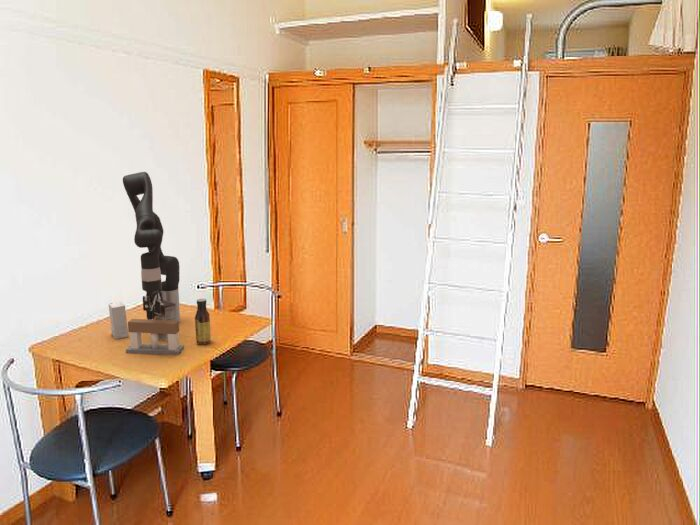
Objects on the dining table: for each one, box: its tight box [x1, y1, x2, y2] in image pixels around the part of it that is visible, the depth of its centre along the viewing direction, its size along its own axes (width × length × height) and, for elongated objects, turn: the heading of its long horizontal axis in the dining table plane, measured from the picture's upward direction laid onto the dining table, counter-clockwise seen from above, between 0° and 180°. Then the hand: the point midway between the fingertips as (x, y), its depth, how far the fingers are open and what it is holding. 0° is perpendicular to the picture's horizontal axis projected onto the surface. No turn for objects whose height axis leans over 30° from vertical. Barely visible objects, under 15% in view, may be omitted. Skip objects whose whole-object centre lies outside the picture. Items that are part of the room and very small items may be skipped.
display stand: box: [125, 332, 185, 356], centre depth 224 cm, size 7×22×8 cm, turn 87°
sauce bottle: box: [194, 298, 212, 345], centre depth 233 cm, size 6×6×20 cm
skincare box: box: [108, 301, 129, 340], centre depth 240 cm, size 8×6×15 cm
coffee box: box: [152, 300, 176, 342], centre depth 239 cm, size 9×6×16 cm
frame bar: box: [127, 318, 180, 334], centre depth 223 cm, size 4×20×4 cm, turn 86°
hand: (154, 315), depth 222 cm, fingers open, 8 cm apart
